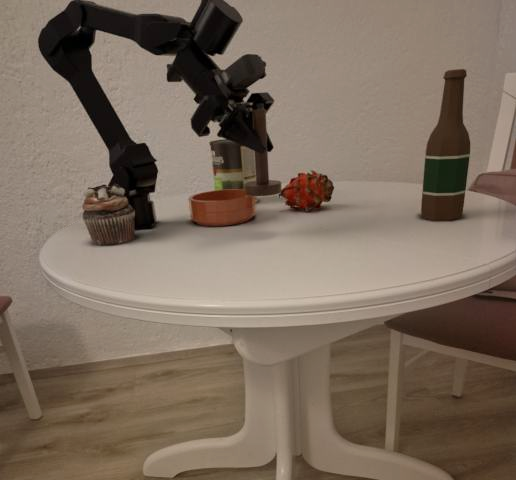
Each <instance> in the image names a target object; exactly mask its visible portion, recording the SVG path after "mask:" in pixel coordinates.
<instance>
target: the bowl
mask: <svg viewBox="0 0 516 480" xmlns="http://www.w3.org/2000/svg"><path fill="white" fill-rule="evenodd" d="M187 200H188V207H189V216H190V220H191V221H192V222H195V223H196V224H197V225H200V226H203V227H225V226H232V225H233V226H234V225H240V224H242V223H243V224H244V223H245V222H248V221H250V220H251V219H252V218H253V217H254V216H256V215H257V208H256V205H257V204H256V203H255V196H248V195H245V190H244V189H225V190H215V189H214V190H208V191H207V190H206V191H203V192H198V193H194V194H192V195H189V197H188V199H187Z"/></svg>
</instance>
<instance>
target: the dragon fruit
mask: <svg viewBox="0 0 516 480" xmlns="http://www.w3.org/2000/svg"><path fill="white" fill-rule="evenodd" d="M310 172H311V173H310ZM310 172H307V173H304V172H298V173H297V176H296V177H292V178H291V179H290V181H289V183H288V184H286V185H285V186H284V187H283V188H281V191H282V192H281V193H279V194H278V198H281V197H282V198H283V199H284V200H285V201H284V205H285V206H287V207H289V209H290V210H298V211H301V210H304V209H305V212H309V211H310V210H312V209H314V210H319V209H321V207H322V204H323V203H330V202H331V200H332V198H333V197H332V195H333V192H334V190H335V186H334V181H332V180H331V179H330V178H328V175H326V174H323V173H317V172H316V171H314V170H313V169H312V170H310Z"/></svg>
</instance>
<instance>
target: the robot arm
mask: <svg viewBox="0 0 516 480" xmlns="http://www.w3.org/2000/svg"><path fill="white" fill-rule="evenodd" d="M243 22H244V20H243V17H242V15H241V14H240V12H239V11H238V10H237V8H235V7H234V6H231V4H229V3H228V2H227V1H226V0H200V4H199V6H198V8H197V10H196V12H195V13H194V15H193V17H192V20H191V21H186V20H185V18H183V17H180V16H175V15H168V14H161V13H138V14H136V13H132V12H128V11H124V10H120V9H117V8H113V7H109V6H104V5H101V4H97V2H94V1H91V0H70V1H69V3H68V4H67V6H66V7H65V9H64V10H62V11H61V12H59V13H58V14H56V15H55V16H53V17H52V18H51V19H49V20H48V22H47V23H46V24H45V26H44V27H42V28H41V30H40V32H39V35H38V37H37V45H38V46H37V47H38V49H39V52H40V55H41V56H42V57H43V59H44V60H45V61H46V63H47V64H48V66H49V67H50V68H51V69H52V70H53V72H55V73H56V74H57V75H59V76H60V77H61V78H63V79H64V80H65V81H67V82H68V84H69V85H70V87H71V88H72V90H73V92H74V93H75V95H76V97H77V99H78V100H79V102H80V104H81V106H82V107H83V109H84V111H85V113H86V114H87V116H88V118H89V119H90V122H92V125H93V127H94V128H95V130H96V131H97V133H98V135H99V136H100V138H101V140H102V142H103V144H104V145H105V147H106V148H107V151H108V165H109V169H110V171H111V173H112V177H111V179H110V180H109V182H108V184H107V187H109V186H111V185H113V184H117V185H119V186H120V188H123V189H124V190H125V193H124V195H123V196H125V197H126V198H127V199H128V204H130V205H131V206H132V208H133V210H135V220H134V230H142V229H152V228H153V226H154V225H155V223H156V221H157V213H156V209H155V208H156V207H155V201H154V200H151V195H150V194H154V193H156V188H157V187H156V186H157V179H158V173H159V169H158V165H157V164H156V162H157V161H158V160H157V159H156V158H155V157H154V156H153V154H152V152H151V150H150V148H149V146H148V144H147V143H146V142H140V143H137V142H136V141H134V140H133V139H132V138H131V136H130V134H129V133H128V131H127V130H126V127H125V126H124V124H123V122H122V121H121V119H120V117H119V115H118V113H117V112H116V110H115V108H114V106H113V105H112V103H111V101H110V100H109V98H108V96H107V94H106V93H105V91H104V89H103V87H102V86H101V84H100V82H99V80H98V79H97V76H96V75H95V73H94V71H93V55H92V53H91V50H90V49H91V48H92V47H93V45H94V44H95V41H96V36H97V35H96V34H97V32H98V31H99V32H102V33H106V34H110V35H113V36H117V37H120V38H124V39H128V40H131V41H133V43H134V42H135V43H136V45H138V47H140V48H141V49H142V50H145V51H146V52H148V53H151V54H152V55H154V56H159V57H161V56H162V57H163V56H164V57H174V59H173V61H172V63H167V64H166V81H167V82H168V83H181V82H184V83H185V84H186V85H187V87H188V88H189V89H190V91H192V92H193V94H194V97H193V101H194V102H195V104H196V105H198V106H197V107H196V110H195V111H194V112H193V115H191V118H190V129H191V130H192V131H193V132H194V133H195V134H196V135H197V136H198V138H202V137H208V136H209V135H210V134H211V128H210V127H209V126H208V125H209V124H210V122H212V123H218V126H219V130H218V132H217V133H216V136H217V137H218V138H222V139H227V140H230V141H232V142H235V143H237V144H240V145H242V146H245V147H247V148H249V149H251V150H254V151H256V152H258V153H261V154H263V153H264V152H265V151H266V147H265V145H264V144H263V142H262V141H261V139H260V138H259V136H258V135H257V133H256V132H255V130H254V129H253V119H252V110H257V109H266V114H268V111H269V110H270V109H271V108H272V106H273V105H274V103H275V99H274V98H273V96H272V95H270V93H269V92H267V91H266V92H251V94H250V95H249V93H250V90H249V87H251V86H252V85H254V84H256V82H258V81H259V80H263V79H264V78H265V77H267V73H266V67H267V62H266V61H265V60H263V58H262V56H259V54H253V53H246V54H243V55H242V56H240V57H239V58H238V59H236V60H235V61H234V62H233V63H231V64H230V65H229V66H227V67H226V68H225V69H221V68H220V66H219V65H218V64H217V63H216V62H215V61H214V60H213V58H212V57H215V56H216V55H219V56H223V55H224V54H225V53H226V51H227V48H228V47H229V45H230V44H231V42H232V40H233V39H234V37H235V35H236V34H237V32H238V30H239V29H240V27H241V25H242V23H243ZM248 95H249V96H248ZM247 96H248V98H247ZM245 98H247V99H246V101H245V100H244V99H245ZM272 142H273V141H272V139H271V138H270V135H269V133H268V132H267V151H268V153H271V152H272V151H273V149H274V144H273V143H272Z"/></svg>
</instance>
